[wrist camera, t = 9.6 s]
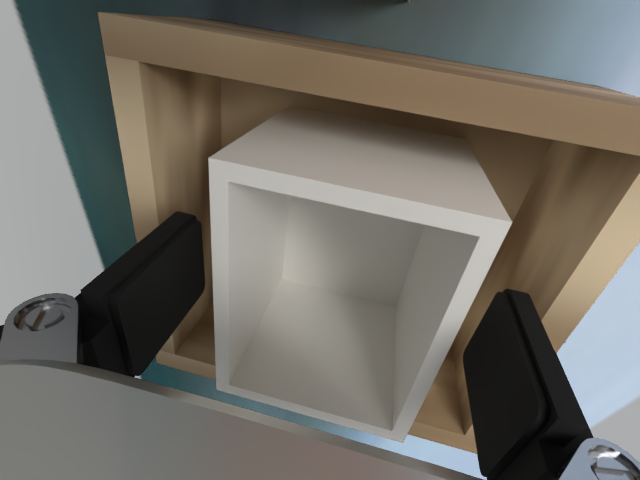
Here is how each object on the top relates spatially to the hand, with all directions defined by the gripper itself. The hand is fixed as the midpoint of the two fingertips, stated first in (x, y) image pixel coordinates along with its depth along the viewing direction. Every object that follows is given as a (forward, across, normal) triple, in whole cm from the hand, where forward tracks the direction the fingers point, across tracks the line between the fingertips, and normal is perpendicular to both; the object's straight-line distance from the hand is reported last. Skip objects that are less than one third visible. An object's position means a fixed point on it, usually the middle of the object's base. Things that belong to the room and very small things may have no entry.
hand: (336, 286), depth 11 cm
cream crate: (+6, 0, +1) cm, 6 cm away
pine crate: (+7, 0, +1) cm, 7 cm away
